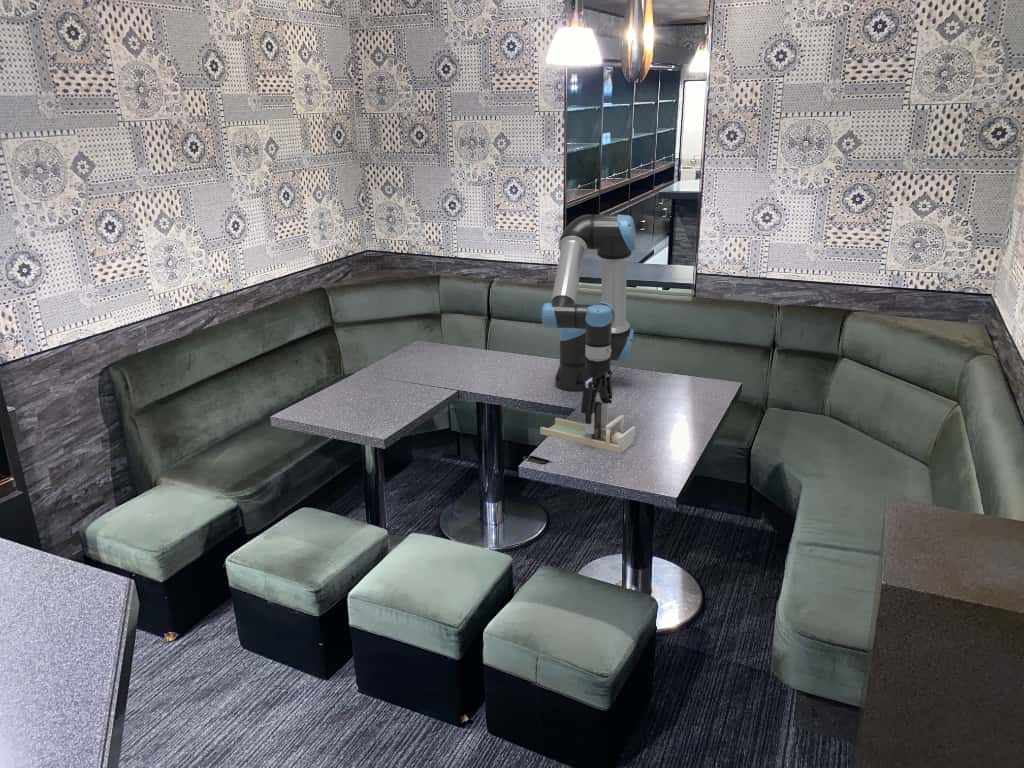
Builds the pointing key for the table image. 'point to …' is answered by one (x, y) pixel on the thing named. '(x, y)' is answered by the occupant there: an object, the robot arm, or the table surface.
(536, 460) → the phone
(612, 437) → the ball
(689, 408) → the table surface
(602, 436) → the rod
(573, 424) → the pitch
